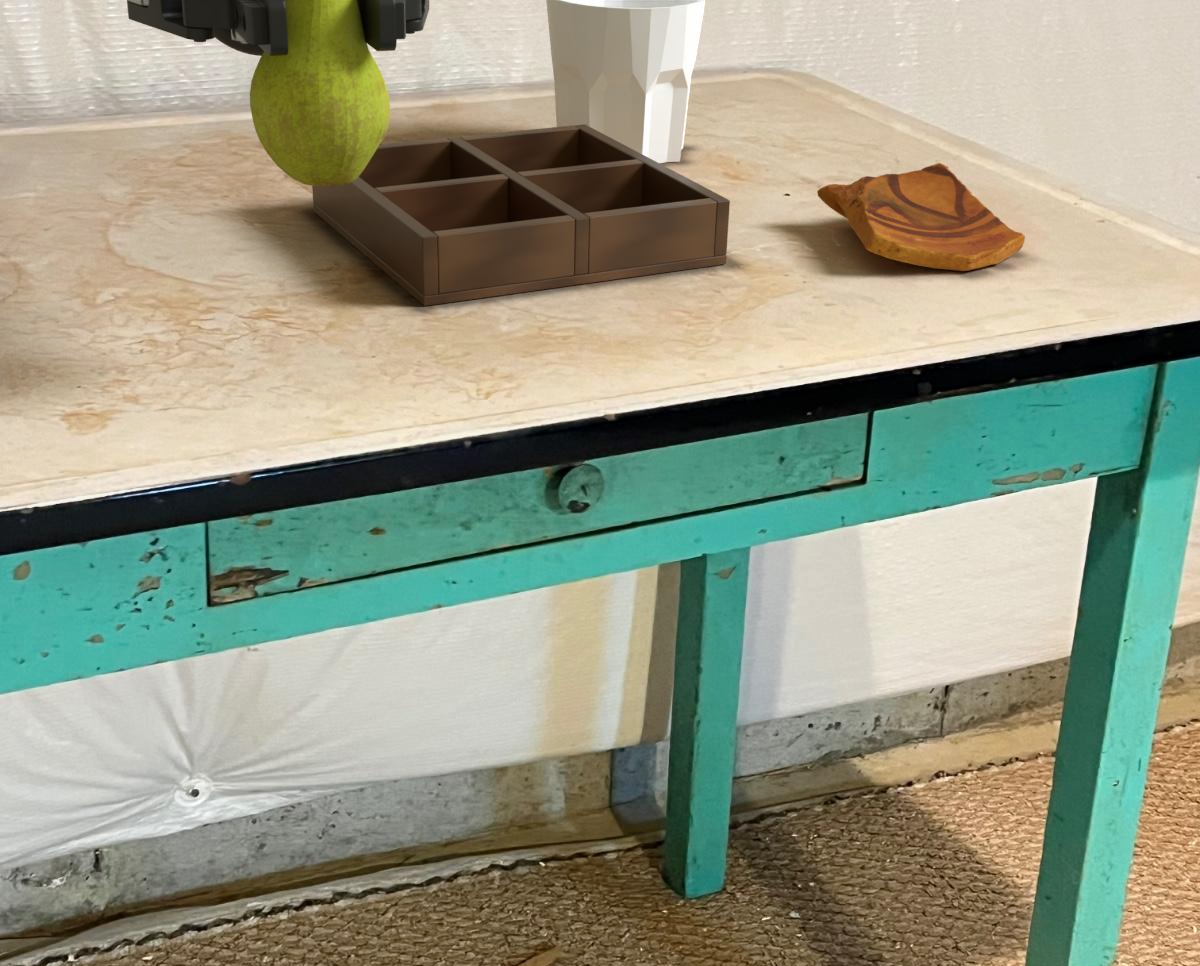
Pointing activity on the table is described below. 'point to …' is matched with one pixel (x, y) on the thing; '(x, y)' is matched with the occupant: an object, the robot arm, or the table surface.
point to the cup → (626, 69)
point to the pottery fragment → (923, 219)
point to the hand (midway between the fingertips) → (333, 26)
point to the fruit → (321, 96)
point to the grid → (523, 213)
